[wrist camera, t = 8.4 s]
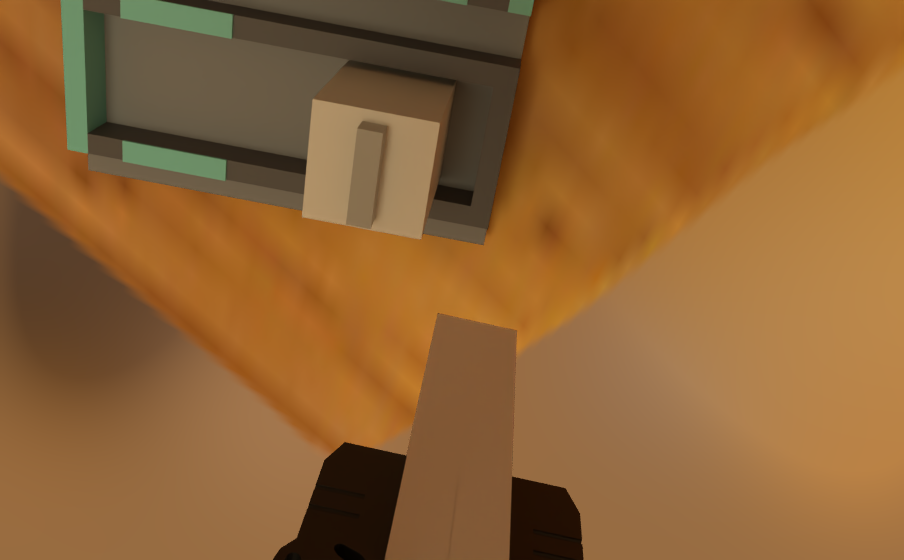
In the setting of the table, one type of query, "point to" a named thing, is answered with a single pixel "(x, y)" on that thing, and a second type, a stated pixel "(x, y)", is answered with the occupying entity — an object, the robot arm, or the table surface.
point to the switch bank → (281, 89)
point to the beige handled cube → (377, 148)
